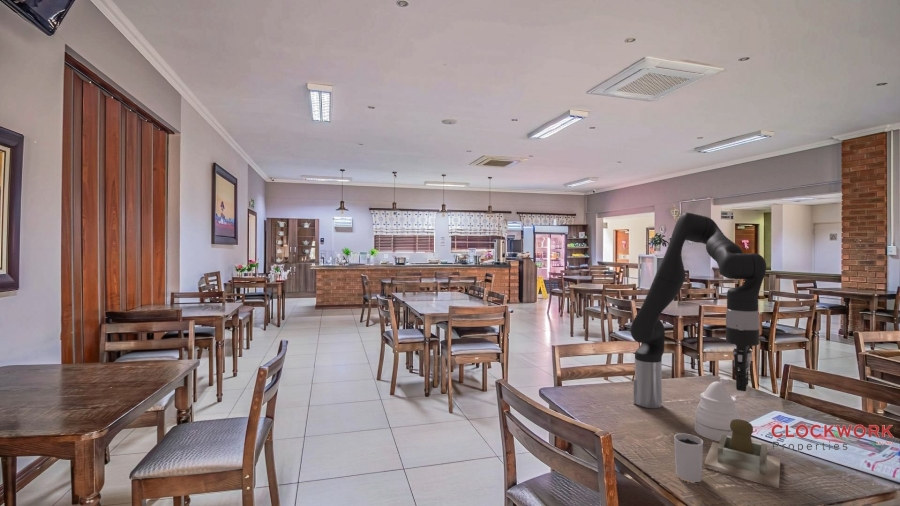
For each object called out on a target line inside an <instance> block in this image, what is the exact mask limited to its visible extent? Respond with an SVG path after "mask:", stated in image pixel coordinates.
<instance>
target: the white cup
mask: <svg viewBox="0 0 900 506" xmlns="http://www.w3.org/2000/svg"><path fill="white" fill-rule="evenodd" d="M673 439H674V440H673V441H674V443H673V444H674V458H675V459H674V460H675V475H676V474H677V475H678V476H679V477H681V478H683V479H686V480H689V481H695V482H698V481H701V482H702V475H703V474H702V473H703V472H702V471H703V453H704V451H703V450H704V440H703V439H702V438H700V437H698V436H697V435H694V434H691V433H690V434H689V433H682V432H681V433H676V434H675V435H674V436H673Z"/></svg>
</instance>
